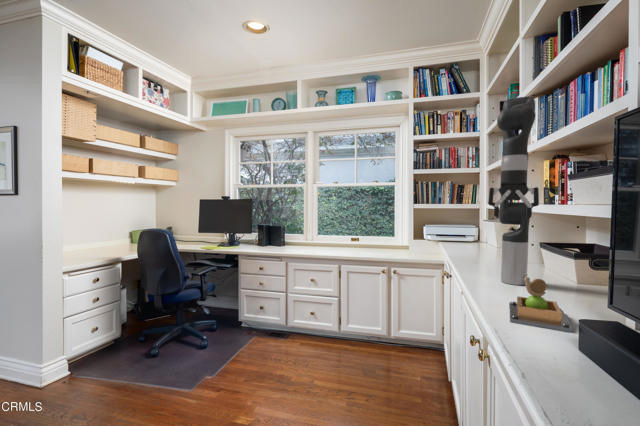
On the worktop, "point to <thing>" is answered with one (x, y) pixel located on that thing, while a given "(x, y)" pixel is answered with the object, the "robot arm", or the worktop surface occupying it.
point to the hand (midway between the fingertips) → (512, 218)
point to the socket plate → (539, 315)
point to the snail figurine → (535, 293)
